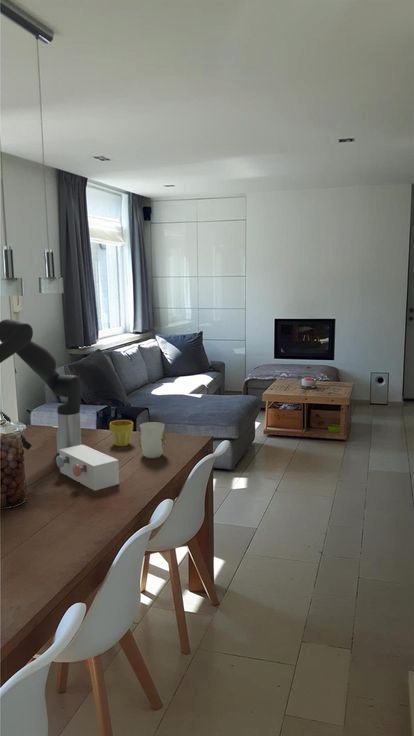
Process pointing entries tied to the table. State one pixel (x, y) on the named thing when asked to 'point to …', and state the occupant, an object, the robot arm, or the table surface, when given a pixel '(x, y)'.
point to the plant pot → (121, 432)
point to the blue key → (61, 461)
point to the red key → (78, 469)
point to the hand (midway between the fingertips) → (29, 447)
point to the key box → (91, 467)
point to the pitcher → (152, 439)
